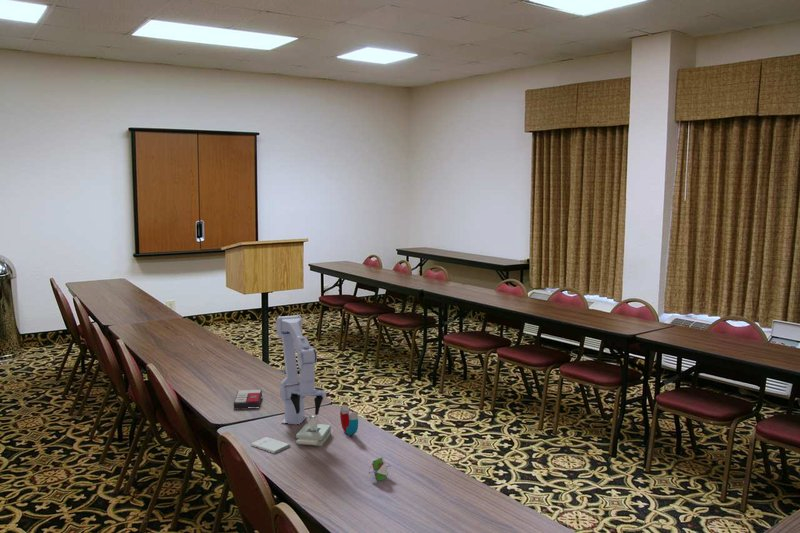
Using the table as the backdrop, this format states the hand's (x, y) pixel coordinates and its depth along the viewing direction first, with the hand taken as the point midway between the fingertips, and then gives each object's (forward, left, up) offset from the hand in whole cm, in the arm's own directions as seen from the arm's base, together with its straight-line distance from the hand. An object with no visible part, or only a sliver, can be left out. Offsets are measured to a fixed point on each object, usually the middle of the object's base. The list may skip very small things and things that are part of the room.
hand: (307, 413), depth 241 cm
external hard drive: (+10, -11, -11) cm, 18 cm away
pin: (+1, +3, -10) cm, 10 cm away
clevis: (+1, +3, -10) cm, 10 cm away
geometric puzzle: (+28, +35, -10) cm, 45 cm away
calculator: (-32, -39, -10) cm, 51 cm away
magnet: (-7, +15, -10) cm, 19 cm away
